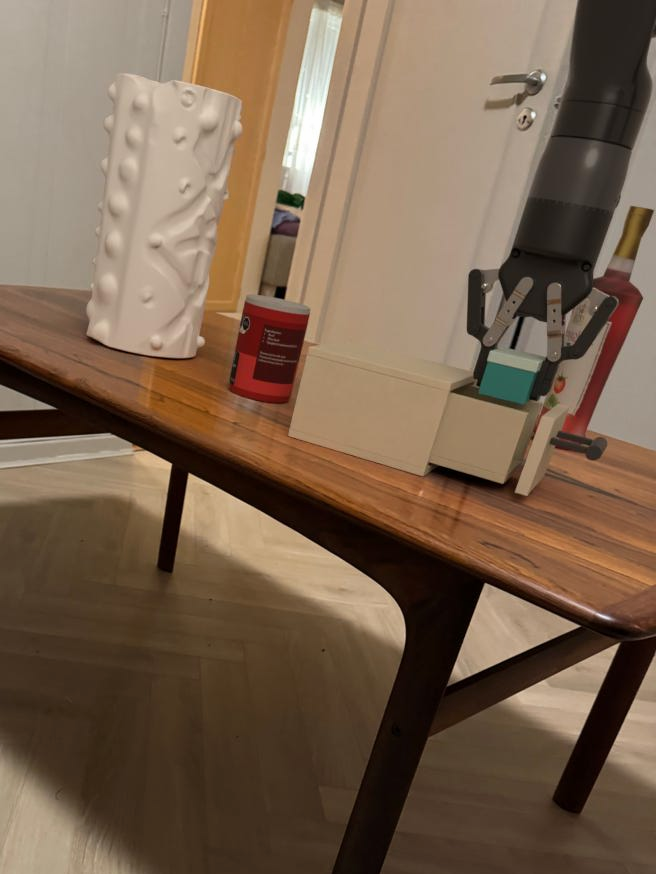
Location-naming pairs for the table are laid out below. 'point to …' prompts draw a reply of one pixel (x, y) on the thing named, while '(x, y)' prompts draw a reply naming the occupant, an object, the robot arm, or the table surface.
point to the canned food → (268, 348)
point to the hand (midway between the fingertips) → (508, 392)
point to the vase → (160, 213)
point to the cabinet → (374, 403)
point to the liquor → (590, 373)
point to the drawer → (503, 438)
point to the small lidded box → (510, 375)
